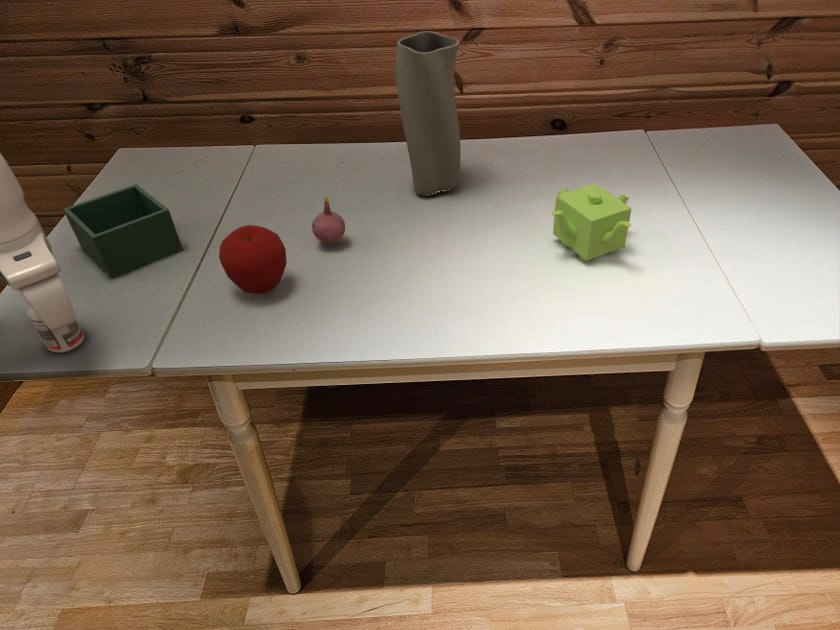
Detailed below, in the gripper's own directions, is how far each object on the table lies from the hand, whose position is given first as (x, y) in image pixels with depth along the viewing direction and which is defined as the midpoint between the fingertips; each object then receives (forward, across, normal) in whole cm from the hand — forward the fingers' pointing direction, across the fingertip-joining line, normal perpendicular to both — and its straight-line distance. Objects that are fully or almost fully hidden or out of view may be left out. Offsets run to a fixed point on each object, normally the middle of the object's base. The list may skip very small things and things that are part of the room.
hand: (55, 322), depth 102 cm
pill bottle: (+4, 0, 0) cm, 4 cm away
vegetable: (+4, +6, +47) cm, 48 cm away
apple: (+4, +9, +30) cm, 32 cm away
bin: (+4, -19, +19) cm, 27 cm away
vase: (+4, +3, +76) cm, 76 cm away
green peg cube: (+4, +41, +81) cm, 91 cm away
